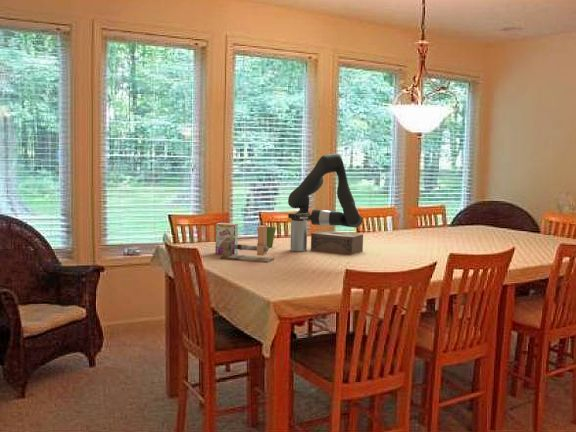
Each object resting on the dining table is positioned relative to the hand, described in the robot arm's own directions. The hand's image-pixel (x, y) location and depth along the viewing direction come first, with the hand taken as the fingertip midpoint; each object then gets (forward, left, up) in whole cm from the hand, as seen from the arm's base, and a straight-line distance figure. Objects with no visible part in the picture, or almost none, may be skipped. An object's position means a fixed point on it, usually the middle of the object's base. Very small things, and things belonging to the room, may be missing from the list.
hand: (288, 215), depth 317 cm
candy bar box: (-6, -37, -23) cm, 44 cm away
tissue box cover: (-43, +15, -24) cm, 52 cm away
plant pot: (-38, -26, -23) cm, 52 cm away
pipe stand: (+4, -21, -23) cm, 31 cm away
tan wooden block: (+4, -13, -20) cm, 24 cm away
